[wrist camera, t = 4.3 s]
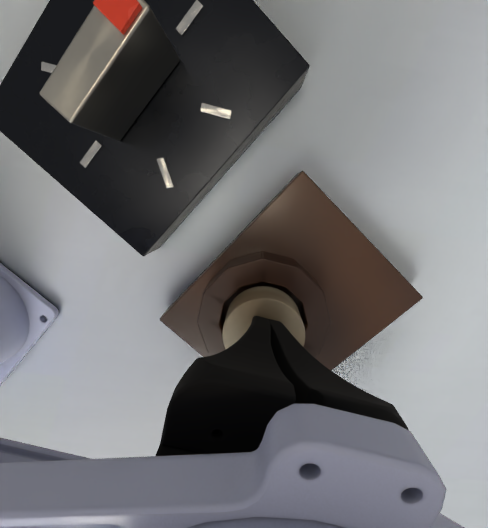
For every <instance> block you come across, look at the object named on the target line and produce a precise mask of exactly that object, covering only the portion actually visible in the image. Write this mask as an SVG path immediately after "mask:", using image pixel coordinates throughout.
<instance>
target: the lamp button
mask: <svg viewBox="0 0 488 528" xmlns="http://www.w3.org/2000/svg"><path fill="white" fill-rule="evenodd" d="M254 316H260V317H264V318H268V319H272V320H276V321H280V322H282V323H283V325H284V326H285V327H286V328H287V329H288V330H289V332H290V333H291V334H292V335H293V336H294V337H295V338H296V340H297V341H298V342H299V343H300V344H301V345H302V346H304V343H305V328H304V324H303V321H302V319H301V316H300V313H299V310H298V307H297V305H296V304H295V302H294V301H293V299H292V298H291V297H290V296H289V295H287V294H286V293H285V292H283V291H281V290H279V289H277V288H273V287H268V286H257V287H252V288H249V289H247V290H245V291H243V292H241V293H240V294H239V295H237V296H236V297H235V298H234V300H233V301H232V302H231V304H230V306H229V308H228V311H227V314H226V318H225V322H224V326H223V332H222V337H223V343H224V346H225V349H227V348H229V347H230V346H232V345H233V344H234V343H236V342H237V341H238V340H239V339H240V338H241V337H242V336H243V335H244V333H245V332H246V331H247V330H248V328H249V327H250V325H251V322H252V319H253V317H254Z"/></svg>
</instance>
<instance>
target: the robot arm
mask: <svg viewBox="0 0 488 528" xmlns="http://www.w3.org/2000/svg"><path fill="white" fill-rule="evenodd" d="M58 315H59V311H58V309H57V308H56V307H55V306H54V305H52V304H51V303H50V302H49V301H47V300H46V299H45V298H44V297H42V296H41V295H40V294H39V293H37V292H36V291H35V290H34V289H32V288H31V287H30V286H29V285H27V284H26V283H25V282H24V281H22V280H21V279H20V278H18V277H17V276H16V275H15V274H13V273H12V272H11V271H10V270H8V269H7V268H6V267H5V266H3V265H2V264H1V263H0V385H1V384H2V383H3V382H4V381H5V379H6V378H7V377H8V376H9V375H10V373H11V372H12V371H13V370H14V369H15V367H16V366H17V365H18V364H19V363H20V361H21V360H22V359H23V358H24V357H25V355H26V354H27V353H28V352H29V351H30V349H31V348H32V347H33V346H34V345H35V343H36V342H37V341H38V340H39V338H40V337H41V336H42V335H43V334H44V332H45V331H46V330H47V329H48V328H49V326H50V325H51V324H52V323H53V322H54V320H55V319H56V318H57V317H58ZM45 316H46V317H47V319H46V318H45ZM445 494H446V487H445V485H444V484H443V482H442V480H441V478H440V476H439V475H438V473H437V471H436V470H435V468H434V467H433V465H432V464H431V462H430V461H429V459H428V457H427V456H426V454H425V453H424V451H423V450H422V448H421V447H420V445H419V444H418V442H417V440H416V439H415V437H414V436H413V434H412V433H411V431H409V430H408V427H407V426H406V424H405V423H404V421H403V420H402V418H401V416H400V415H399V413H398V412H397V410H396V409H395V407H394V406H393V405H392V404H390V403H388V402H386V401H384V400H381V399H379V398H377V397H375V396H373V395H371V394H369V393H367V392H365V391H363V390H361V389H359V388H357V387H356V386H354V385H352V384H350V383H349V382H347V381H345V380H344V379H342V378H341V377H339V376H338V375H336V374H335V373H333V372H332V371H330V370H329V369H328V368H326V367H325V366H324V365H323V364H321V363H320V362H319V361H318V360H317V359H315V358H314V357H313V356H312V355H311V354H310V353H309V352H308V351H307V350H306V349H305V348H304V347H303V346H302V345H301V344H300V343H299V342H298V341H297V340H296V338H295V337H294V336H293V335H292V334H291V333H290V332H289V330H288V329H287V328H286V327H285V326H284V325H283V323H282V322H280V321H276V320H272V319H268V318H264V317H260V316H254V317H253V319H252V322H251V325H250V327H249V328H248V330H247V331H246V332H245V333H244V335H243V336H242V337H241V338H240V339H239V340H238V341H237V342H236V343H234V344H233V345H232V346H230V347H229V348H227V349H226V350H224V351H222V352H220V353H217V354H215V355H211V356H207V357H202V358H198V359H196V360H195V361H194V362H193V364H192V365H191V366H190V367H189V369H188V370H187V371H186V372H185V374H184V375H183V377H182V378H181V380H180V381H179V383H178V385H177V386H176V388H175V390H174V393H173V395H172V398H171V401H170V403H169V406H168V408H167V413H166V418H165V423H164V428H163V433H162V438H161V443H160V446H159V448H158V451H157V453H156V456H151V457H129V458H106V459H90V458H86V457H81V456H77V455H73V454H68V453H64V452H60V451H55V450H51V449H47V448H43V447H38V446H34V445H30V444H25V443H21V442H17V441H12V440H8V439H4V438H0V528H464V527H462V526H461V525H459V524H457V523H456V522H454V521H452V520H451V519H449V518H447V517H446V516H444V515H442V514H441V513H440V511H441V510H442V506H443V502H444V498H445Z"/></svg>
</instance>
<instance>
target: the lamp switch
mask: <svg viewBox="0 0 488 528" xmlns="http://www.w3.org/2000/svg"><path fill="white" fill-rule="evenodd" d="M257 286H268V287H273V288H277V289H279V290H281V291H283V292H285V293H286V294H287V295H289V296H290V297H291V298H292V299H293V301H294V302H295V304H296V305H297V307H298V310H299V313H300V316H301V319H302V321H303V324H304V328H305V343H304V346H303V347H304V348H305V349H306V350H307V351H308V352H309V353H310V354H311V355H312V356H313V357H314V358H315V359H317V360H318V361H319V362H320V363H321V364H323V365H324V366H325V367H326V368H328V369H329V370H330V371H331V370H332V369H334V368H335V367H336V366H337V365H339V364H340V363H341V362H342V361H344V360H345V359H346V358H348V357H349V356H350V355H351V354H353V353H354V352H355V351H356V350H358V349H359V348H360V347H361V346H363V345H364V344H365V343H367V342H368V341H369V340H370V339H372V338H373V337H374V336H375V335H377V334H378V333H379V332H380V331H382V330H383V329H384V328H385V327H387V326H388V325H389V324H391V323H392V322H393V321H394V320H396V319H397V318H398V317H399V316H401V315H402V314H403V313H404V312H406V311H407V310H408V309H410V308H411V307H412V306H413V305H415V304H416V303H417V302H418V301H420V300H421V299H422V298H423V297H422V296H421V295H420V294H419V293H418V292H417V290H416V289H415V288H414V287H413V286H412V285H411V284H410V283H409V282H408V281H407V280H406V279H405V278H404V277H403V276H402V275H401V274H400V273H399V272H398V270H397V269H396V268H395V267H394V266H393V265H392V264H391V263H390V262H389V261H388V260H387V259H386V258H385V257H384V256H383V255H382V254H381V253H380V252H379V250H378V249H377V248H376V247H375V246H374V245H373V244H372V243H371V242H370V241H369V240H368V239H367V238H366V237H365V236H364V235H363V234H362V233H361V231H360V230H359V229H358V228H357V227H356V226H355V225H354V224H353V223H352V222H351V221H350V220H349V219H348V218H347V217H346V216H345V215H344V214H343V213H342V211H341V210H340V209H339V208H338V207H337V206H336V205H335V204H334V203H333V202H332V201H331V200H330V199H329V198H328V197H327V196H326V195H325V194H324V193H323V191H322V190H321V189H320V188H319V187H318V186H317V185H316V184H315V183H314V182H313V181H312V180H311V179H310V178H309V177H308V176H307V175H306V174H305V172H303V171H302V172H300V173H298V174H297V175H296V176H295V177H294V178H293V179H292V180H291V181H290V182H289V183H288V184H287V185H286V186H285V188H284V189H283V190H282V191H281V192H280V193H279V194H278V195H277V196H276V197H275V198H274V199H273V200H272V201H271V202H270V203H269V204H268V205H267V206H266V207H265V208H264V209H263V210H262V211H261V212H260V214H259V215H258V216H257V217H256V218H255V219H254V220H253V221H252V222H251V223H250V224H249V225H248V226H247V227H246V228H245V229H244V230H243V231H242V232H241V233H240V234H239V235H238V236H237V237H236V238H235V240H234V241H233V242H232V243H231V244H230V245H229V246H228V247H227V248H226V249H225V250H224V251H223V252H222V253H221V254H220V255H219V256H218V257H217V258H216V259H215V260H214V261H213V262H212V263H211V264H210V266H209V267H208V268H207V269H206V270H205V271H204V272H203V273H202V274H201V275H200V276H199V277H198V278H197V279H196V280H195V281H194V282H193V283H192V284H191V285H190V286H189V287H188V288H187V289H186V290H185V292H184V293H183V294H182V295H181V296H180V297H179V298H178V299H177V300H176V301H175V302H174V303H173V304H172V305H171V306H170V307H169V308H168V309H167V310H166V312H165V313H164V314H163V315H162V317H161V318H160V321H162V322H163V323H164V324H165V325H166V326H168V327H169V328H170V329H171V330H172V331H173V332H175V333H176V334H177V335H178V336H179V337H181V338H182V339H183V340H184V341H185V342H186V343H188V344H189V345H190V346H191V347H192V348H194V349H195V350H196V351H197V352H198V353H200V354H201V355H202V356H203V357H207V356H211V355H215V354H217V353H220V352H222V351H224V350H226V349H225V346H224V343H223V337H222V332H223V326H224V322H225V318H226V314H227V311H228V308H229V306H230V304H231V302H232V301H233V300H234V298H235V297H236V296H237V295H239V294H240V293H241V292H243V291H245V290H247V289H249V288H252V287H257Z"/></svg>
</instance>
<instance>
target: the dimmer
mask: <svg viewBox="0 0 488 528" xmlns="http://www.w3.org/2000/svg"><path fill="white" fill-rule="evenodd" d="M144 1H145V2H146V3H147V4H148V5H149V6H150V8H151V10H152V11H153V13H154V15H155V17H156V18H157V20H158V22H159V23H160V25H161V27H162V29H163V30H164V32H165V34H166V36H167V37H168V39H169V41H170V43H171V44H172V46H173V48H174V49H175V51H176V53H177V55H178V56H179V58H180V60H179V62H178V63H177V65H176V66H175V67H174V69H173V70H172V72H171V73H170V74H169V76H168V77H167V78H166V80H165V81H164V82H163V84H162V85H161V86H160V88H159V89H158V90H157V92H156V93H155V94H154V96H153V97H152V98H151V100H150V101H149V102H148V104H147V105H146V106H145V108H144V109H143V111H142V112H141V113H140V115H139V116H138V117H137V119H136V120H135V121H134V123H133V124H132V125H131V127H130V128H129V129H128V131H127V132H126V133H125V135H124V136H123V137H122V139H121V140H120V141H117V140H115V139H112V138H109V137H107V136H104V135H101V134H99V133H96V132H93V131H91V130H88V129H85V128H83V127H80V126H77V125H75V124H72V123H70V122H69V121H68V120H66V119H65V118H64V117H63V116H62V115H61V114H60V113H59V112H58V111H57V110H56V109H55V108H53V107H52V106H51V105H50V104H49V103H48V102H47V101H46V100H45V99H44V98H43V97H42V96H41V95H40V91H41V89H42V88H43V86H44V85H45V83H46V81H47V80H48V78H49V77H50V75H51V73H52V72H53V70H54V69H55V67H56V65H57V64H58V62H59V61H60V59H61V58H62V56H63V54H64V53H65V51H66V50H67V48H68V46H69V45H70V43H71V42H72V40H73V38H74V37H75V35H76V34H77V32H78V30H79V29H80V27H81V26H82V24H83V22H84V21H85V19H86V18H87V16H88V15H89V13H90V11H91V10H92V8H93V7H94V4H93V2H94V0H50V1H49V3H48V4H47V6H46V8H45V9H44V11H43V13H42V15H41V16H40V18H39V20H38V21H37V23H36V25H35V27H34V28H33V30H32V32H31V33H30V35H29V37H28V38H27V40H26V42H25V44H24V45H23V47H22V49H21V50H20V52H19V54H18V56H17V57H16V59H15V61H14V62H13V64H12V66H11V68H10V69H9V71H8V73H7V74H6V76H5V78H4V80H3V81H2V83H1V85H0V131H1V132H2V133H3V134H4V135H5V136H7V137H8V138H9V139H10V140H11V141H12V142H13V143H15V144H16V145H17V146H18V147H19V148H20V149H21V150H22V151H24V152H25V153H26V154H27V155H28V156H29V157H30V158H32V159H33V160H34V161H35V162H36V163H37V164H38V165H40V166H41V167H42V168H43V169H44V170H45V171H46V172H48V173H49V174H50V175H51V176H52V177H53V178H54V179H56V180H57V181H58V182H59V183H60V184H61V185H62V186H63V187H65V188H66V189H67V190H68V191H69V192H70V193H71V194H73V195H74V196H75V197H76V198H77V199H78V200H79V201H81V202H82V203H83V204H84V205H85V206H86V207H87V208H89V209H90V210H91V211H92V212H93V213H94V214H95V215H97V216H98V217H99V218H100V219H101V220H102V221H103V222H105V223H106V224H107V225H108V226H109V227H110V228H111V229H112V230H114V231H115V232H116V233H117V234H118V235H119V236H120V237H122V238H123V239H124V240H125V241H126V242H127V243H128V244H130V245H131V246H132V247H133V248H134V249H135V250H136V251H138V252H139V253H140V254H141V255H142V256H145V255H147V254H149V253H151V252H152V251H154V250H156V249H158V248H160V247H161V246H162V244H163V243H164V242H165V241H166V240H167V239H168V238H169V237H170V235H171V234H172V233H173V232H174V231H175V230H176V229H177V228H178V226H179V225H180V224H181V223H182V222H183V221H184V220H185V218H186V217H187V216H188V215H189V214H190V213H191V212H192V211H193V209H194V208H195V207H196V206H197V205H198V204H199V203H200V201H201V200H202V199H203V198H204V197H205V196H206V195H207V194H208V192H209V191H210V190H211V189H212V188H213V187H214V186H215V184H216V183H217V182H218V181H219V180H220V179H221V178H222V177H223V175H224V174H225V173H226V172H227V171H228V170H229V169H230V167H231V166H232V165H233V164H234V163H235V162H236V161H237V160H238V158H239V157H240V156H241V155H242V154H243V153H244V152H245V150H246V149H247V148H248V147H249V146H250V145H251V144H252V143H253V141H254V140H255V139H256V138H257V137H258V136H259V135H260V133H261V132H262V131H263V130H264V129H265V128H266V127H267V126H268V124H269V123H270V122H271V121H272V120H273V119H274V118H275V117H276V115H277V114H278V113H279V112H280V111H281V110H282V109H283V107H284V106H285V105H286V104H287V103H288V102H289V101H290V100H291V98H292V97H293V96H294V95H295V94H296V93H297V92H298V90H299V89H300V88H301V86H302V84H303V81H304V79H305V76H306V74H307V71H308V69H309V64H308V63H307V62H306V61H305V60H304V58H303V57H302V56H301V55H300V54H299V53H298V52H297V50H296V49H295V48H294V47H293V46H292V45H291V44H290V42H289V41H288V40H287V39H286V38H285V37H284V36H283V34H282V33H281V32H280V31H279V30H278V29H277V28H276V26H275V25H274V24H273V23H272V22H271V21H270V20H269V18H268V17H267V16H266V15H265V14H264V13H263V12H262V10H261V9H260V8H259V7H258V6H257V5H256V4H255V2H254V1H253V0H144Z"/></svg>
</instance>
